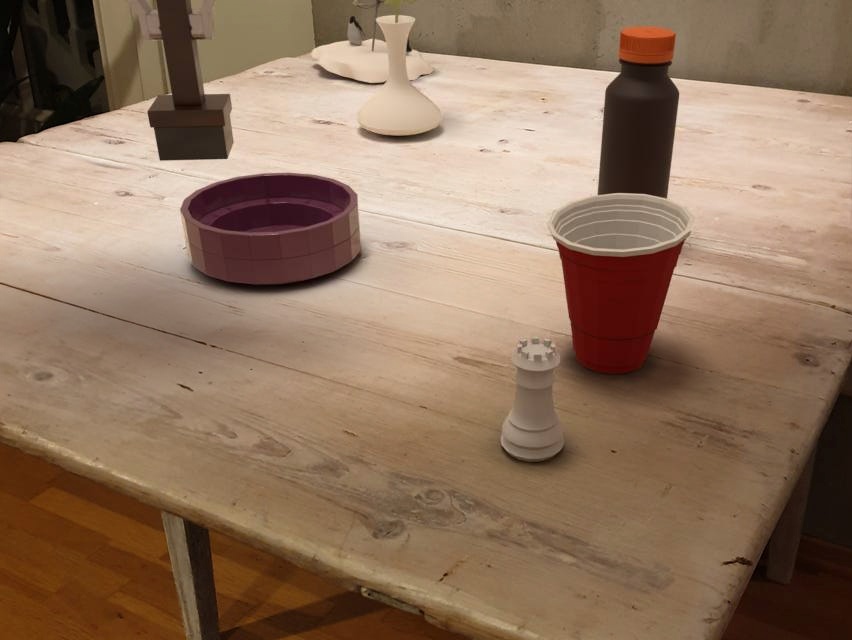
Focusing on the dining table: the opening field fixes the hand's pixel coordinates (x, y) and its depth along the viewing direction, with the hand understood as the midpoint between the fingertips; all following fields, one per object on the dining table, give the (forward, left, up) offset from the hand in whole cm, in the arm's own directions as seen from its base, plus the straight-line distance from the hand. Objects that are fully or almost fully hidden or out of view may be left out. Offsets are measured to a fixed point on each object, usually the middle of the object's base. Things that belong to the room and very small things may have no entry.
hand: (179, 38), depth 69 cm
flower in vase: (+17, +56, -23) cm, 63 cm away
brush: (0, 0, -8) cm, 8 cm away
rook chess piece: (+23, -20, -23) cm, 39 cm away
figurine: (+13, +89, -23) cm, 93 cm away
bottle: (+38, +15, -23) cm, 47 cm away
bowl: (+3, +15, -23) cm, 27 cm away
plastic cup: (+31, -8, -23) cm, 40 cm away
